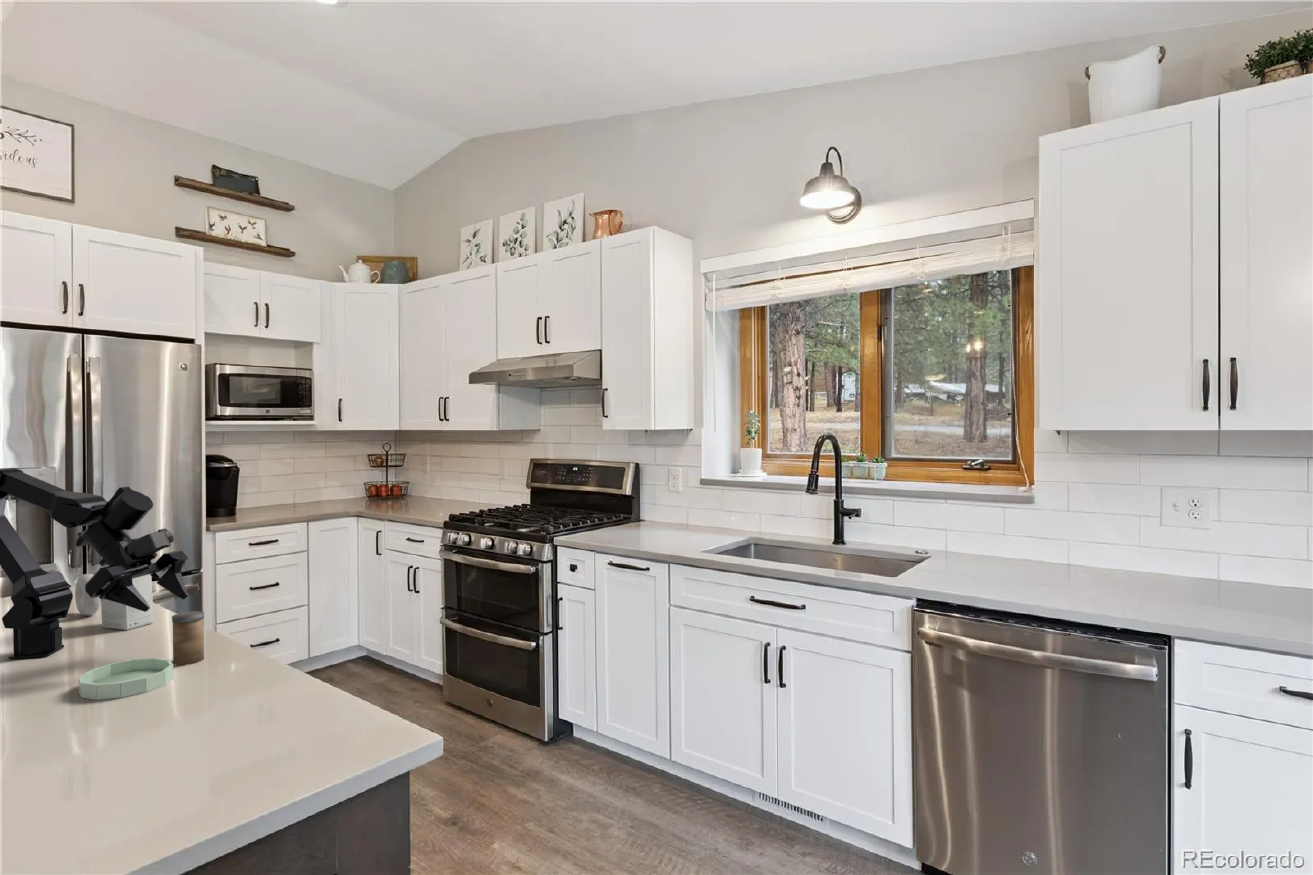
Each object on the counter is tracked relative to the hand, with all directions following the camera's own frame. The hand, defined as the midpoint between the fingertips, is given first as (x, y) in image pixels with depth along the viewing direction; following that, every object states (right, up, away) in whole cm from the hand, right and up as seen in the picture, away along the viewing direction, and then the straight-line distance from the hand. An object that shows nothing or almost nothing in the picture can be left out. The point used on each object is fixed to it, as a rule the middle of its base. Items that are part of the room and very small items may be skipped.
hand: (167, 603), depth 136 cm
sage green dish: (+2, -11, -13) cm, 17 cm away
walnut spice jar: (+4, -11, 0) cm, 12 cm away
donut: (-41, -10, +32) cm, 53 cm away
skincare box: (-25, -11, +23) cm, 36 cm away
